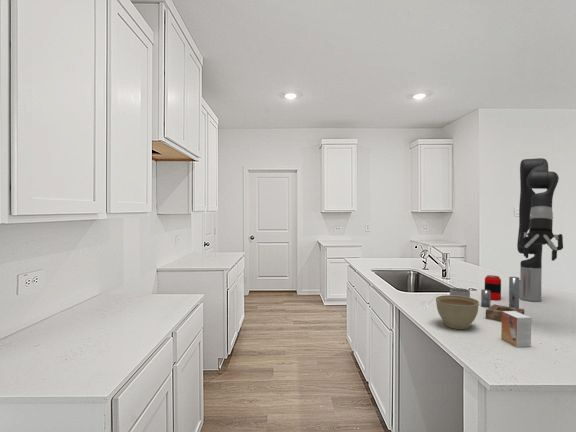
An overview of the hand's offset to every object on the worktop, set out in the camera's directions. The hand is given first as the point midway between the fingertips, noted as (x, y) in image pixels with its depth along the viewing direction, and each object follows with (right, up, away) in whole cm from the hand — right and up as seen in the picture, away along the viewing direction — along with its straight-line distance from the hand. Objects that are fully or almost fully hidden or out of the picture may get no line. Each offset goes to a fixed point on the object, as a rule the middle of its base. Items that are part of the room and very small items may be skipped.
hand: (539, 259), depth 140 cm
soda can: (+10, -27, +50) cm, 58 cm away
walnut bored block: (-4, -28, +16) cm, 33 cm away
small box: (-17, -29, -11) cm, 36 cm away
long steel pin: (+7, -28, +27) cm, 39 cm away
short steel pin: (-2, -28, +35) cm, 45 cm away
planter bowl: (-29, -29, +7) cm, 42 cm away
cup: (-18, -28, +28) cm, 43 cm away
